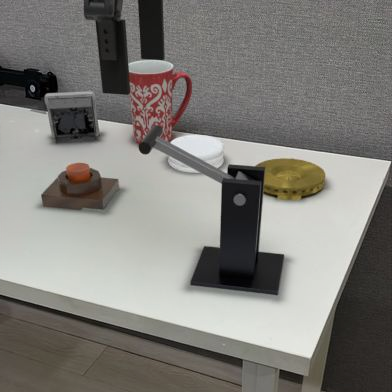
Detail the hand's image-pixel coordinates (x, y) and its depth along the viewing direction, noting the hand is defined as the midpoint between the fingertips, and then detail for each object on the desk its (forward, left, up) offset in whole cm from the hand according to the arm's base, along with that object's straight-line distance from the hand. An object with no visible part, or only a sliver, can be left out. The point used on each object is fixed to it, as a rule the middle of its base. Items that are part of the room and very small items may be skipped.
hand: (136, 75), depth 62 cm
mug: (-9, +43, -23) cm, 50 cm away
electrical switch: (-25, +39, -23) cm, 52 cm away
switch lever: (+7, -2, -10) cm, 12 cm away
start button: (-15, +15, -20) cm, 29 cm away
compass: (+17, +27, -23) cm, 40 cm away
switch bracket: (+13, -2, -23) cm, 27 cm away
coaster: (0, +33, -23) cm, 41 cm away
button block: (-15, +15, -23) cm, 32 cm away
